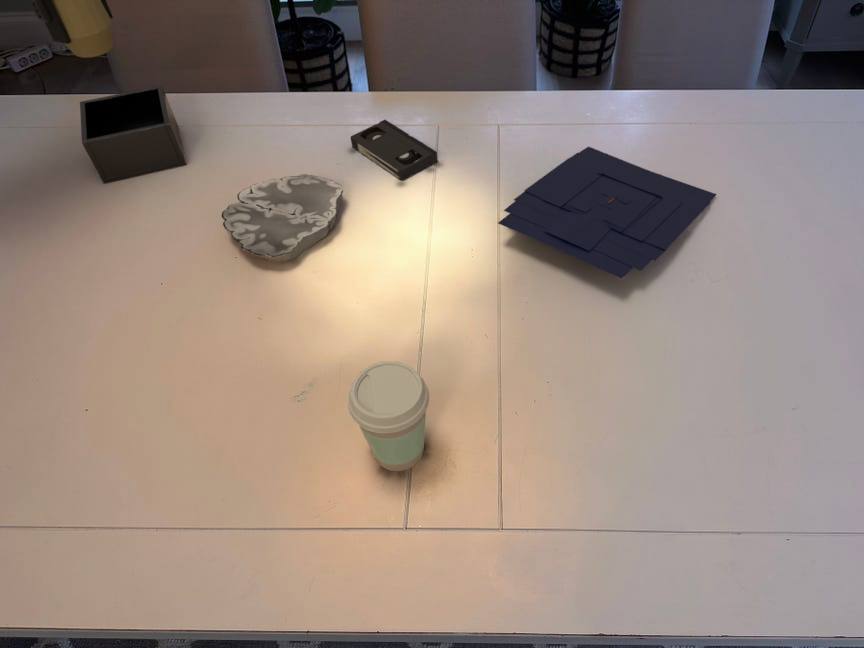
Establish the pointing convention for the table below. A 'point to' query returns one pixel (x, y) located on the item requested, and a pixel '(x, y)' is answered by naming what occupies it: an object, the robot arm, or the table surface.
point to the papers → (606, 211)
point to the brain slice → (283, 215)
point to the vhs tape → (394, 149)
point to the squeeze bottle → (86, 26)
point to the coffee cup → (391, 412)
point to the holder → (131, 134)
